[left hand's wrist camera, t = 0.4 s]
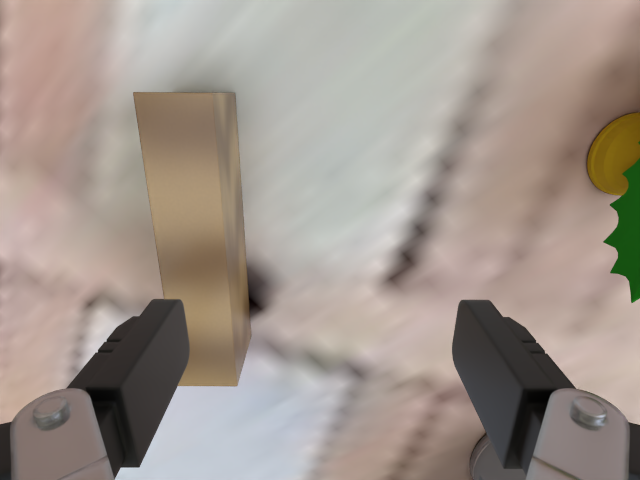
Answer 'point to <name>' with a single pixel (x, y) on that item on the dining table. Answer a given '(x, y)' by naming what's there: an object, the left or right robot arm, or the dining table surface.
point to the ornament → (621, 190)
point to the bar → (199, 224)
